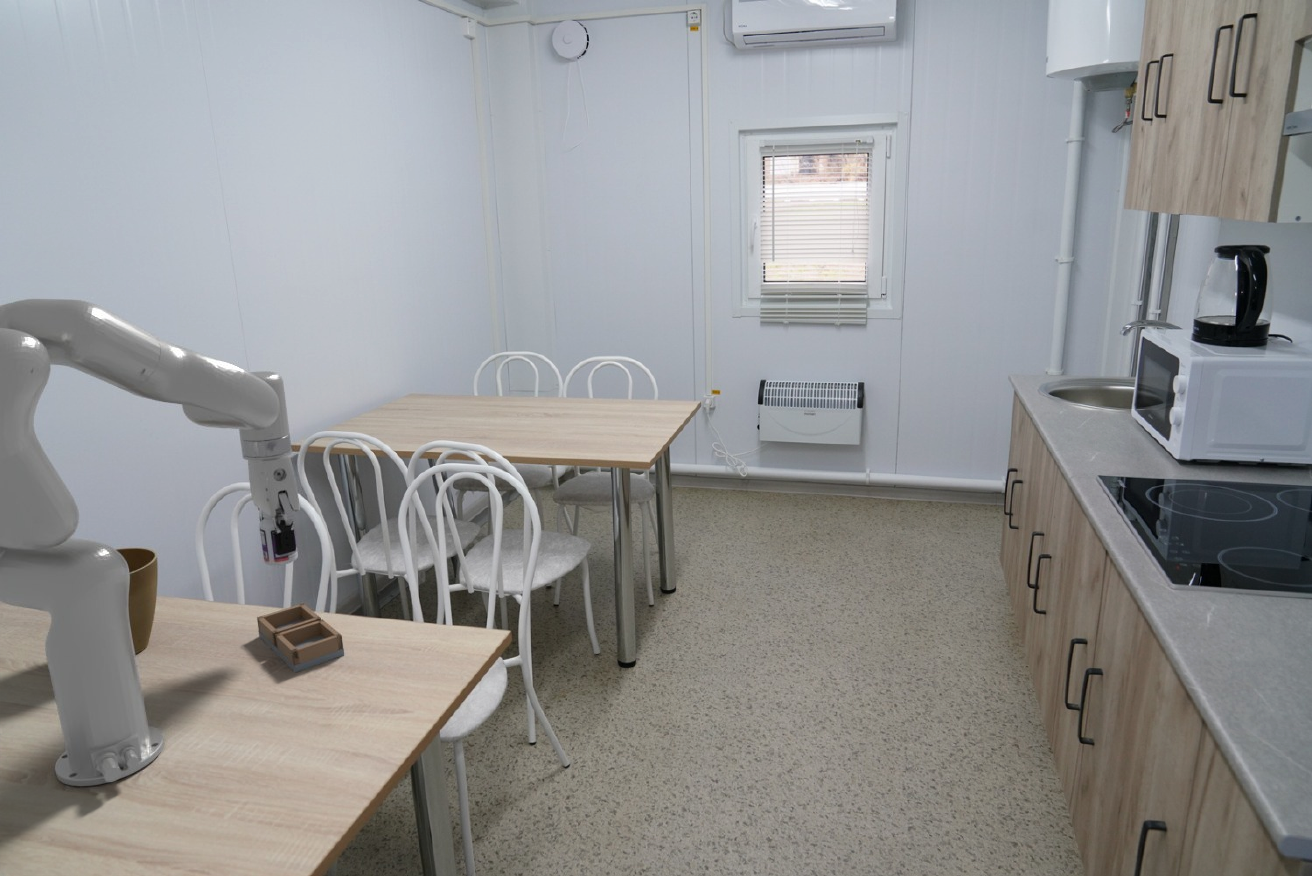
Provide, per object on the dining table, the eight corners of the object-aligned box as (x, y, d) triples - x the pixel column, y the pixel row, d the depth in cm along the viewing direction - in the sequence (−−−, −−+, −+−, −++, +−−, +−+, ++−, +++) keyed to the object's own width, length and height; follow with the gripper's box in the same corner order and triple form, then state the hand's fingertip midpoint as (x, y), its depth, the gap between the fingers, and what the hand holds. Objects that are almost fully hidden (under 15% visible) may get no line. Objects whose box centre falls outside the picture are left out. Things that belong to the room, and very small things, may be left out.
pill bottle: (304, 554, 147) (297, 502, 145) (288, 566, 142) (281, 512, 140) (274, 553, 148) (268, 501, 146) (257, 565, 143) (250, 511, 140)
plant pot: (142, 622, 155) (127, 541, 151) (188, 642, 147) (175, 557, 143) (52, 657, 142) (34, 570, 138) (98, 681, 135) (80, 589, 131)
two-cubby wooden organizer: (344, 654, 142) (342, 635, 141) (295, 672, 137) (292, 651, 136) (305, 621, 154) (303, 603, 154) (259, 636, 149) (256, 617, 148)
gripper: (309, 451, 136) (321, 555, 141) (271, 433, 149) (283, 529, 153) (261, 460, 131) (275, 568, 136) (226, 441, 144) (240, 540, 148)
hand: (279, 546), depth 144 cm, fingers closed on pill bottle, 5 cm apart
